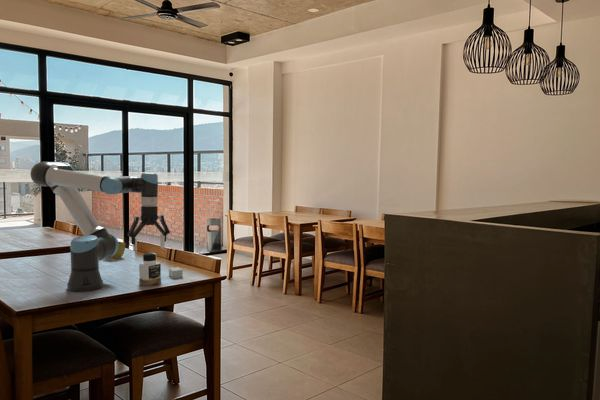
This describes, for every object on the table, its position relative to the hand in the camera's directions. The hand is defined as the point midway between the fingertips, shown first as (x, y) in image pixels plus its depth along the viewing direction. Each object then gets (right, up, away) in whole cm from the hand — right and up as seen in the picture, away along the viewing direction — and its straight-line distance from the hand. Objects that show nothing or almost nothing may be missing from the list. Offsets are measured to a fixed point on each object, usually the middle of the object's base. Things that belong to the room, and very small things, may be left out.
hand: (149, 249), depth 228 cm
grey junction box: (+9, -16, +16) cm, 24 cm away
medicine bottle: (0, -14, +1) cm, 14 cm away
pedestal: (0, -16, +1) cm, 16 cm away
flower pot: (-40, -11, +61) cm, 74 cm away
